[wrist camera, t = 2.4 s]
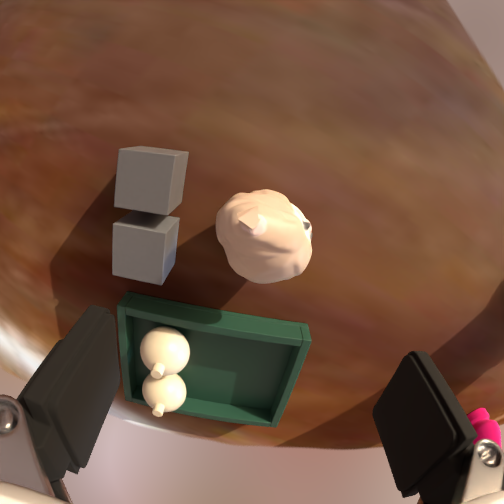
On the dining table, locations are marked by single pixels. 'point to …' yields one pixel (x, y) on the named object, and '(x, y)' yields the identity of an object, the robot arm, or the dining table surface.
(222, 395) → the green tray
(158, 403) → the white bulb
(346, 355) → the dining table surface
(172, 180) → the grey block
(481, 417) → the pepper mill
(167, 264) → the grey block
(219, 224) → the garlic bulb
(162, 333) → the white bulb
